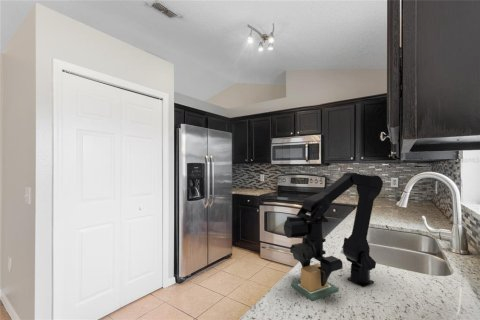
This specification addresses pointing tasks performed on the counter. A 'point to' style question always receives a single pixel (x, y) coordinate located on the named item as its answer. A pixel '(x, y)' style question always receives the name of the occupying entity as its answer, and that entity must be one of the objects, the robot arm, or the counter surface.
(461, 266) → the counter surface
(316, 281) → the block
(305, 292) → the board
